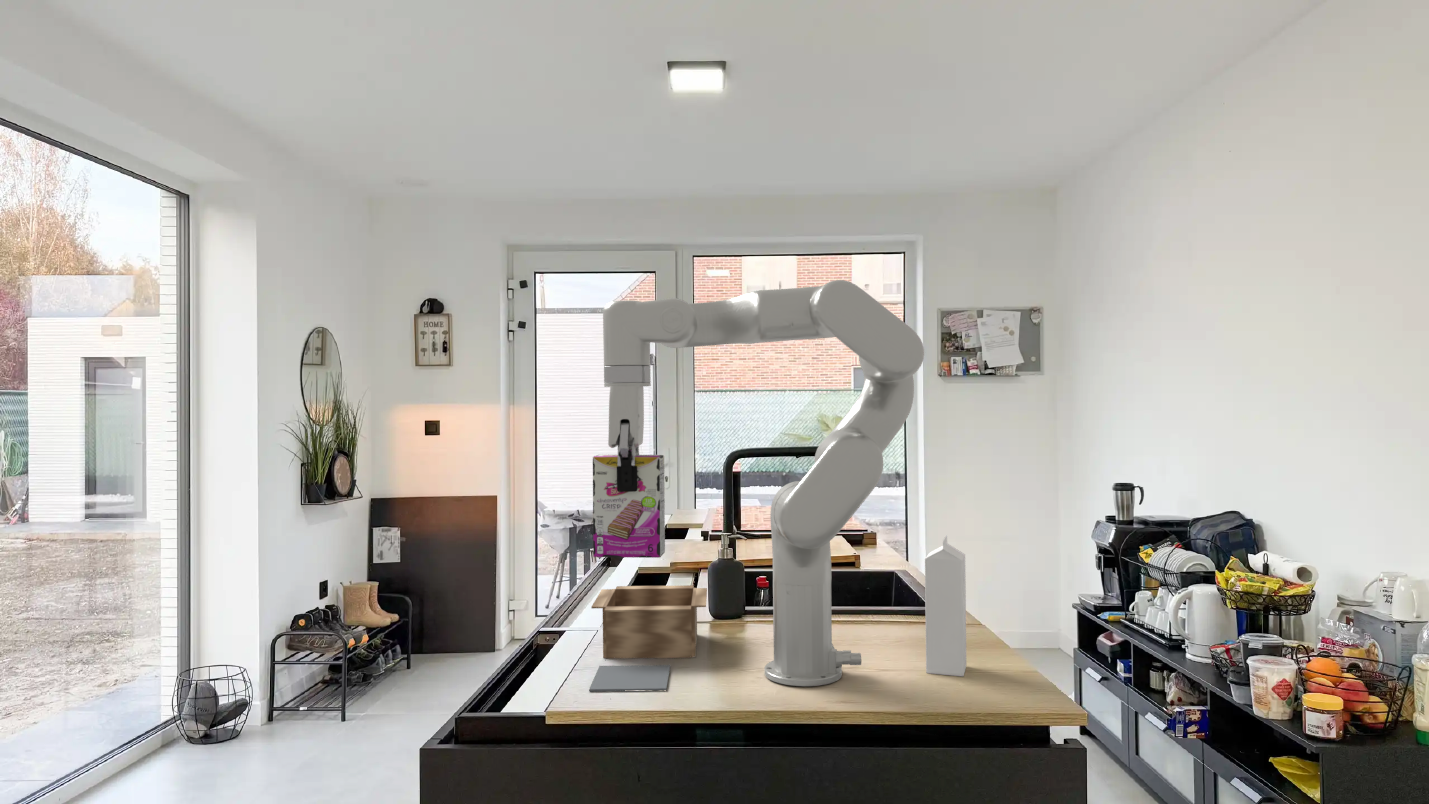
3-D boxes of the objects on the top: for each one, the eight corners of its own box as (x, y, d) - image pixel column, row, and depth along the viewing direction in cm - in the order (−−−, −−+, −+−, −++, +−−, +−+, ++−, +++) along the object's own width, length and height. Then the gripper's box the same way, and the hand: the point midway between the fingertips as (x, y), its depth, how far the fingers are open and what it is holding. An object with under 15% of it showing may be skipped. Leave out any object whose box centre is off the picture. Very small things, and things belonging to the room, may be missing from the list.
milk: (966, 666, 148) (966, 535, 148) (963, 677, 142) (963, 540, 142) (929, 662, 150) (929, 533, 150) (925, 673, 144) (924, 538, 144)
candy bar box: (592, 558, 141) (590, 456, 141) (599, 553, 146) (598, 454, 146) (661, 558, 140) (659, 455, 140) (666, 553, 145) (664, 453, 145)
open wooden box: (707, 631, 172) (707, 585, 171) (706, 660, 152) (705, 608, 152) (604, 632, 172) (603, 586, 172) (589, 662, 152) (589, 610, 152)
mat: (670, 667, 149) (670, 664, 149) (666, 690, 137) (666, 688, 137) (599, 668, 149) (599, 665, 149) (589, 691, 137) (589, 689, 137)
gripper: (610, 379, 151) (612, 484, 151) (597, 376, 134) (599, 495, 134) (654, 378, 151) (655, 483, 151) (646, 376, 134) (648, 495, 134)
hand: (629, 488), depth 143 cm, fingers closed on candy bar box, 5 cm apart
